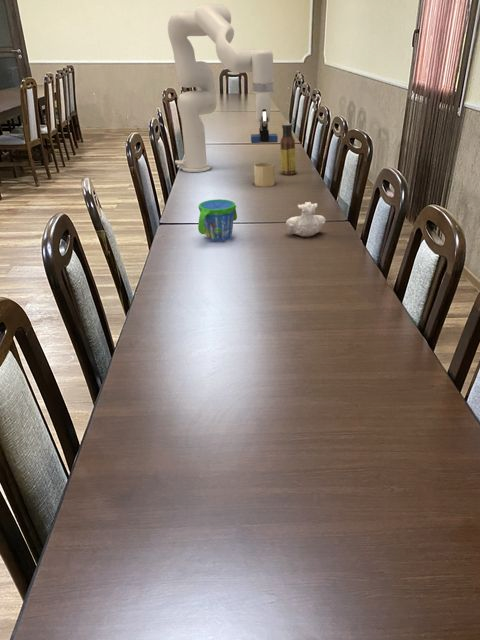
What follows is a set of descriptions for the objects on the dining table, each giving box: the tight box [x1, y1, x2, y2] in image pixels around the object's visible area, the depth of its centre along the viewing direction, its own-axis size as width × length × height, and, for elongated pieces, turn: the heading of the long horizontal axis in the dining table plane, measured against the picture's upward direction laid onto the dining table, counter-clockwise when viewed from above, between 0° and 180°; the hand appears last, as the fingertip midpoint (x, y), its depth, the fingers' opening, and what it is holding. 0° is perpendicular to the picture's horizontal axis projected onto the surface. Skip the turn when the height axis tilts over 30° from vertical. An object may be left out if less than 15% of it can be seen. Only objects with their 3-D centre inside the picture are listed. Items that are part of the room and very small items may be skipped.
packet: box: [250, 133, 279, 144], centre depth 206 cm, size 10×6×2 cm, turn 93°
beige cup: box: [253, 162, 276, 188], centre depth 213 cm, size 8×8×8 cm
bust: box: [285, 201, 326, 238], centre depth 158 cm, size 12×8×11 cm
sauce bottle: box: [279, 123, 297, 176], centre depth 225 cm, size 7×6×20 cm
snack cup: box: [197, 198, 238, 242], centre depth 157 cm, size 16×10×10 cm
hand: (264, 139), depth 207 cm, fingers closed on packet, 5 cm apart
